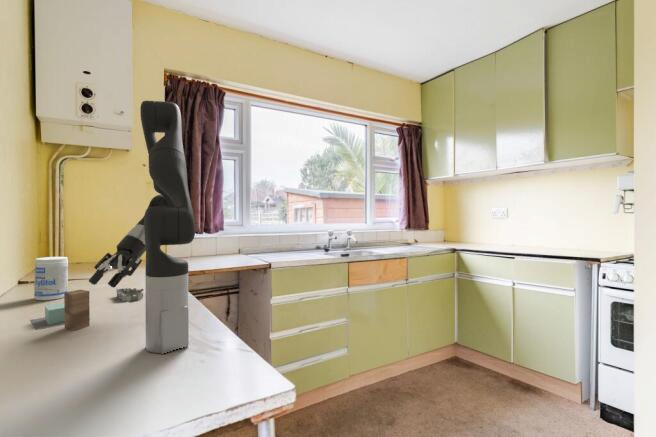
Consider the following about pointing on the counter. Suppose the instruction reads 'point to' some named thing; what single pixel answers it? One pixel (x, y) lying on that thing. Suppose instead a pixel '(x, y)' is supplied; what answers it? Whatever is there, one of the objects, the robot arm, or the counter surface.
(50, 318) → the plinth
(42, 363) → the counter surface
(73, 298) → the pillar
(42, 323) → the mat
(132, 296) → the egg carton
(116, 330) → the counter surface
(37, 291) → the supplement tub
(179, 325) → the robot arm
